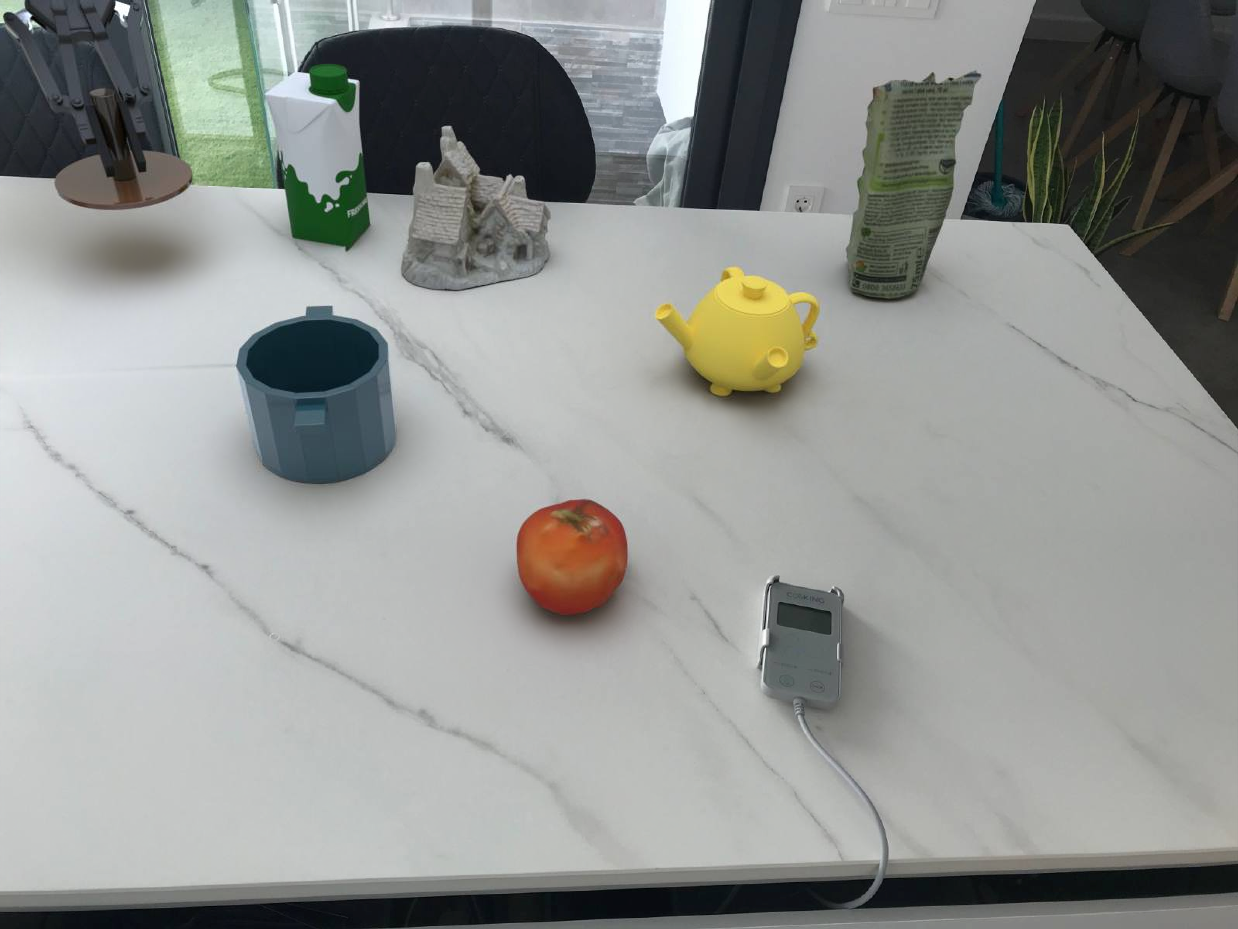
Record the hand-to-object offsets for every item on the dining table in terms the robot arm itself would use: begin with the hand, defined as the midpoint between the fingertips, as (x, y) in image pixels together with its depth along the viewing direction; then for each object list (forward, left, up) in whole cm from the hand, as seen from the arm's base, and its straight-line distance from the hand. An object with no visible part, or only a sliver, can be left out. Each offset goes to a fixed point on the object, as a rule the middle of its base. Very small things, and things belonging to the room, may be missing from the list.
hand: (126, 168), depth 101 cm
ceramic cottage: (+36, +2, -13) cm, 38 cm away
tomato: (+40, -51, -13) cm, 66 cm away
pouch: (+85, -5, -13) cm, 86 cm away
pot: (+20, -30, -13) cm, 38 cm away
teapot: (+61, -24, -13) cm, 67 cm away
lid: (-1, +4, -3) cm, 5 cm away
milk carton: (+19, +10, -13) cm, 25 cm away
